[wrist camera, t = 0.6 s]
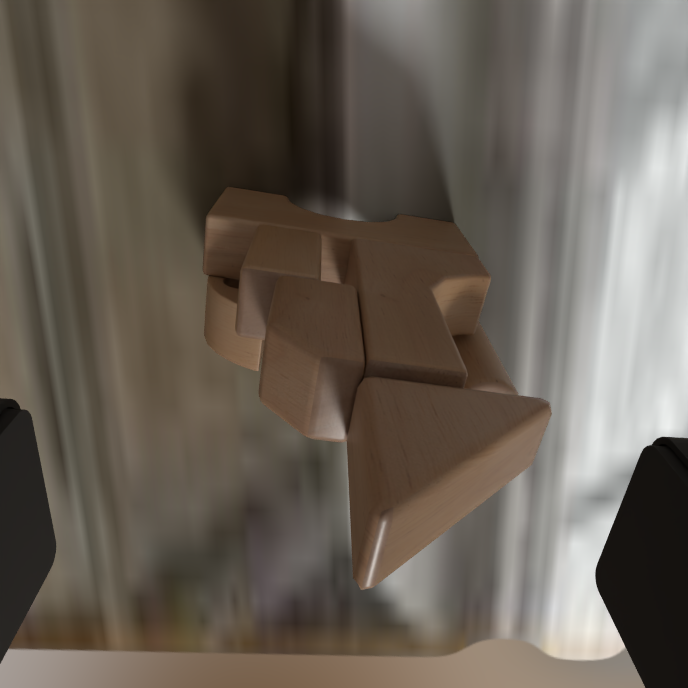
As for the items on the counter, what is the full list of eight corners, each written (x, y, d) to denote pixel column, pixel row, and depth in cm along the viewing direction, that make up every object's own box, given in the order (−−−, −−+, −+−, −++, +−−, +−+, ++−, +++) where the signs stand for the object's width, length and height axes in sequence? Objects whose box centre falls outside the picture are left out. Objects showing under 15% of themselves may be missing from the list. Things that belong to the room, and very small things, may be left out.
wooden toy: (217, 291, 37) (49, 669, 14) (225, 185, 34) (28, 455, 12) (455, 325, 38) (633, 715, 16) (483, 226, 35) (749, 536, 13)
